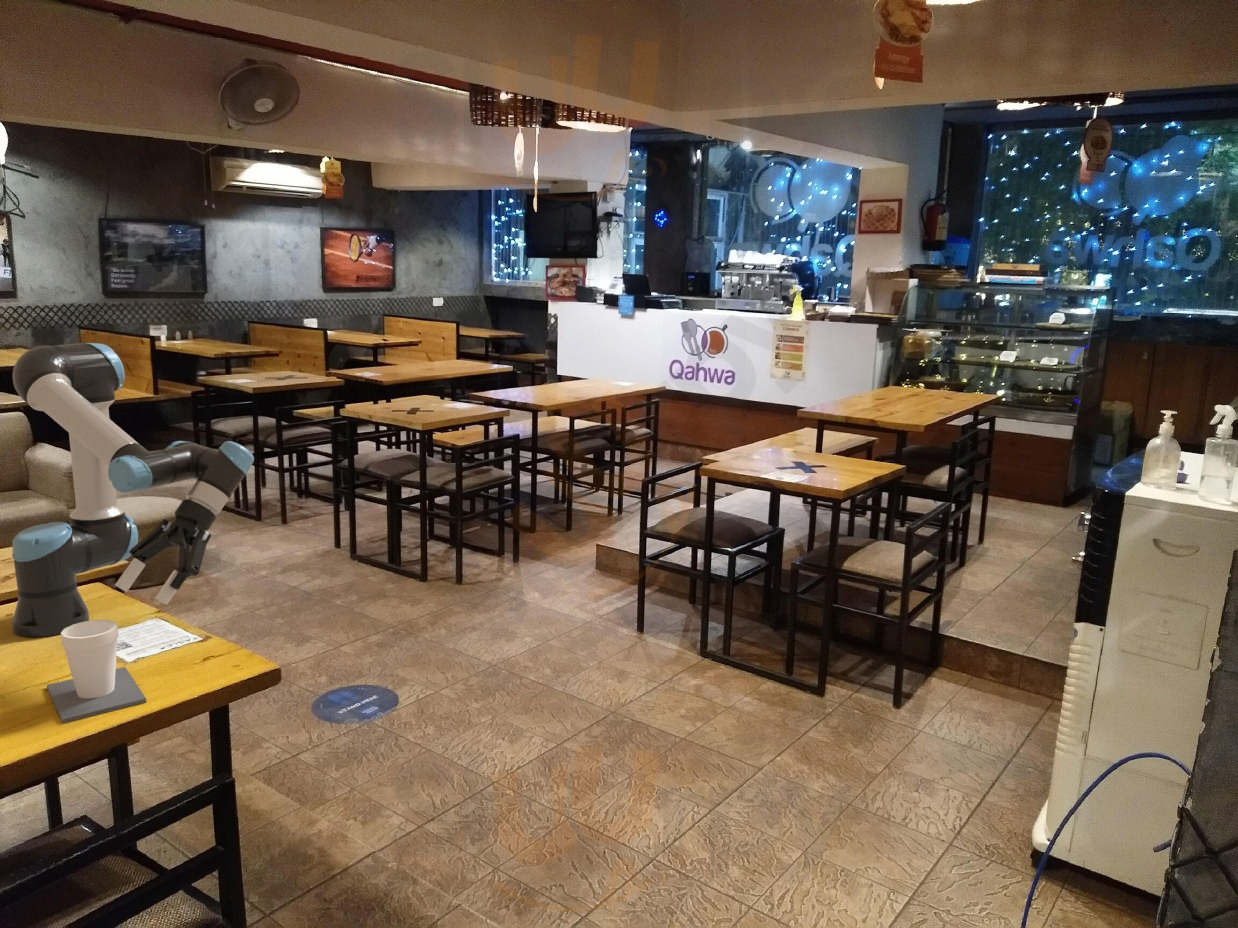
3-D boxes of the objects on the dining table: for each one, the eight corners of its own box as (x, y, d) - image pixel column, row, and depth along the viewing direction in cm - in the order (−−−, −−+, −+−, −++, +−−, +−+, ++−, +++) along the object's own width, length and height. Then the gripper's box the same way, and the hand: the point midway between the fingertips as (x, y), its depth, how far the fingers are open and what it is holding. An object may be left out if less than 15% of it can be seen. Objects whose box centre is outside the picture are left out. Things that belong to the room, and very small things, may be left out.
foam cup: (98, 704, 171) (91, 640, 169) (56, 699, 173) (49, 635, 171) (133, 683, 181) (128, 622, 178) (93, 678, 182) (87, 617, 180)
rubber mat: (47, 688, 179) (46, 684, 179) (125, 670, 188) (125, 666, 188) (62, 723, 166) (62, 719, 166) (146, 701, 175) (146, 698, 174)
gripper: (250, 525, 189) (191, 615, 179) (177, 507, 201) (118, 591, 192) (226, 506, 183) (164, 598, 174) (152, 489, 195) (90, 574, 186)
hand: (140, 595), depth 183 cm, fingers open, 13 cm apart
